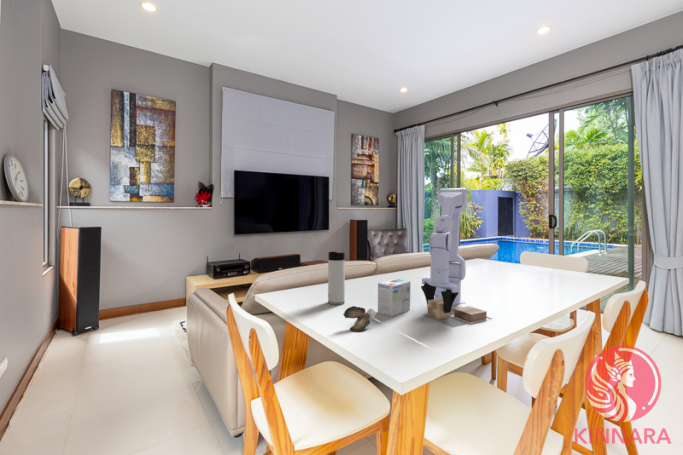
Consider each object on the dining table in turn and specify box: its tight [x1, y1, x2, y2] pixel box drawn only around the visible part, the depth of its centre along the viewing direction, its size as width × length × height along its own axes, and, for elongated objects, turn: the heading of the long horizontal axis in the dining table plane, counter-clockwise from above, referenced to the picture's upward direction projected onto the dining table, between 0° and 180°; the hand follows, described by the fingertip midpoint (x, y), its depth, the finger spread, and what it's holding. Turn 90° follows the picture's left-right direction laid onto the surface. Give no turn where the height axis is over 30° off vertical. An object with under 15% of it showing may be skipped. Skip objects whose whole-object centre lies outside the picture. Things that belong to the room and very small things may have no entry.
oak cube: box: [427, 298, 450, 319], centre depth 108 cm, size 5×5×5 cm
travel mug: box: [327, 251, 346, 306], centre depth 123 cm, size 6×7×20 cm
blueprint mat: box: [420, 306, 493, 328], centre depth 107 cm, size 14×18×1 cm
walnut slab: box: [454, 305, 488, 323], centre depth 106 cm, size 7×7×2 cm
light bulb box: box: [377, 278, 411, 317], centre depth 113 cm, size 11×7×11 cm, turn 135°
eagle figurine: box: [342, 305, 377, 333], centre depth 98 cm, size 8×7×9 cm
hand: (438, 309), depth 108 cm, fingers open, 7 cm apart
